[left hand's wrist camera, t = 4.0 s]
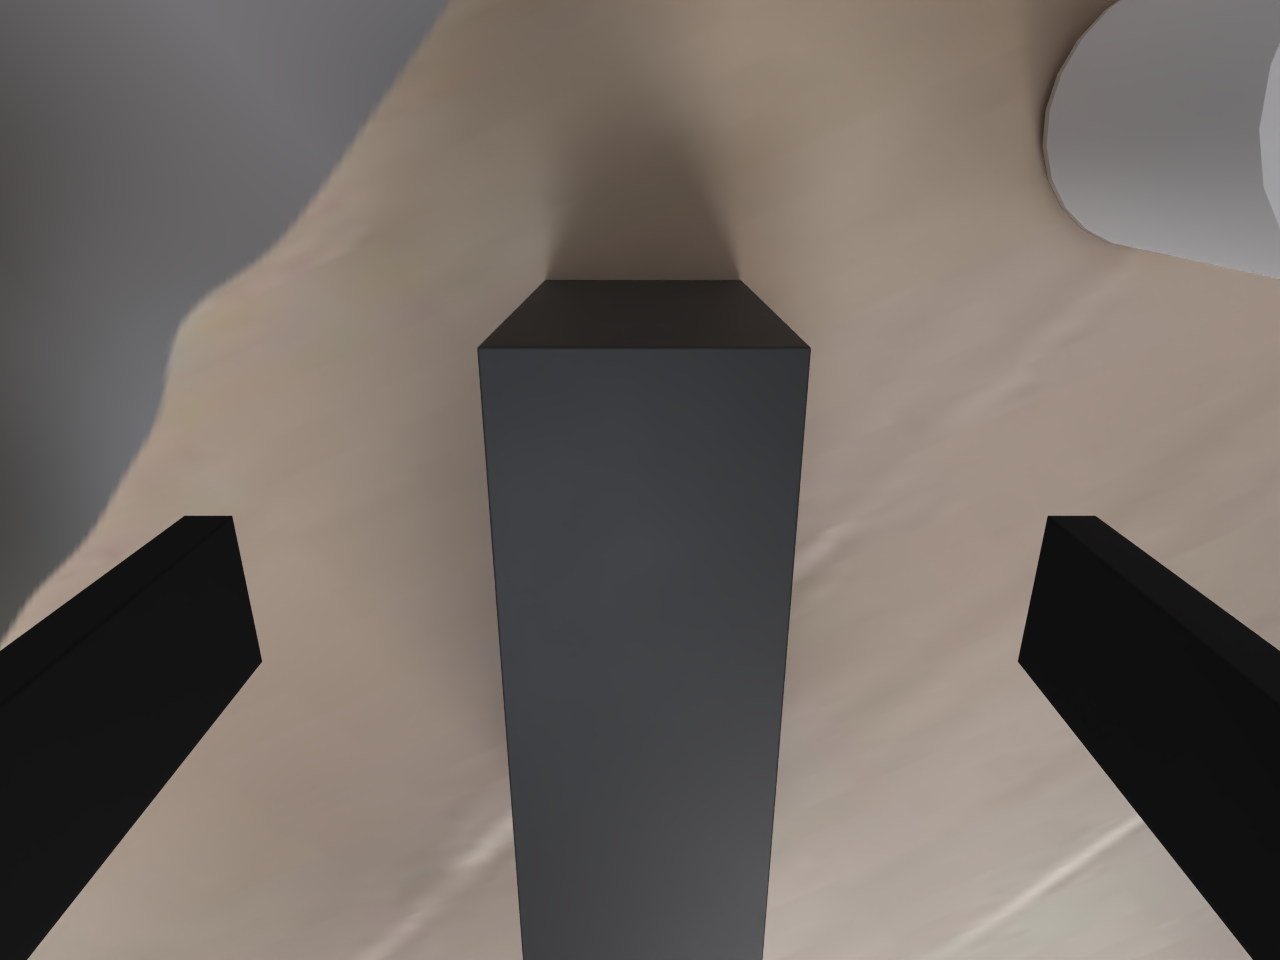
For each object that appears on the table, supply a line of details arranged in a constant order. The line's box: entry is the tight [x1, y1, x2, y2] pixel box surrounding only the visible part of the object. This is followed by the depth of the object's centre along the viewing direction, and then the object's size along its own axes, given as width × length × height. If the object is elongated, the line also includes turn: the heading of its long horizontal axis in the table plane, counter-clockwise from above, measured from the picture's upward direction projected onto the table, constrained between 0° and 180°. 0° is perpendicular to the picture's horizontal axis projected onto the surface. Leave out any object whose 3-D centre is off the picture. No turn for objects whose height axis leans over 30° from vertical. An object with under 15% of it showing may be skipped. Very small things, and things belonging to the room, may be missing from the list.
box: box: [477, 280, 811, 960], centre depth 26 cm, size 26×7×12 cm, turn 0°
